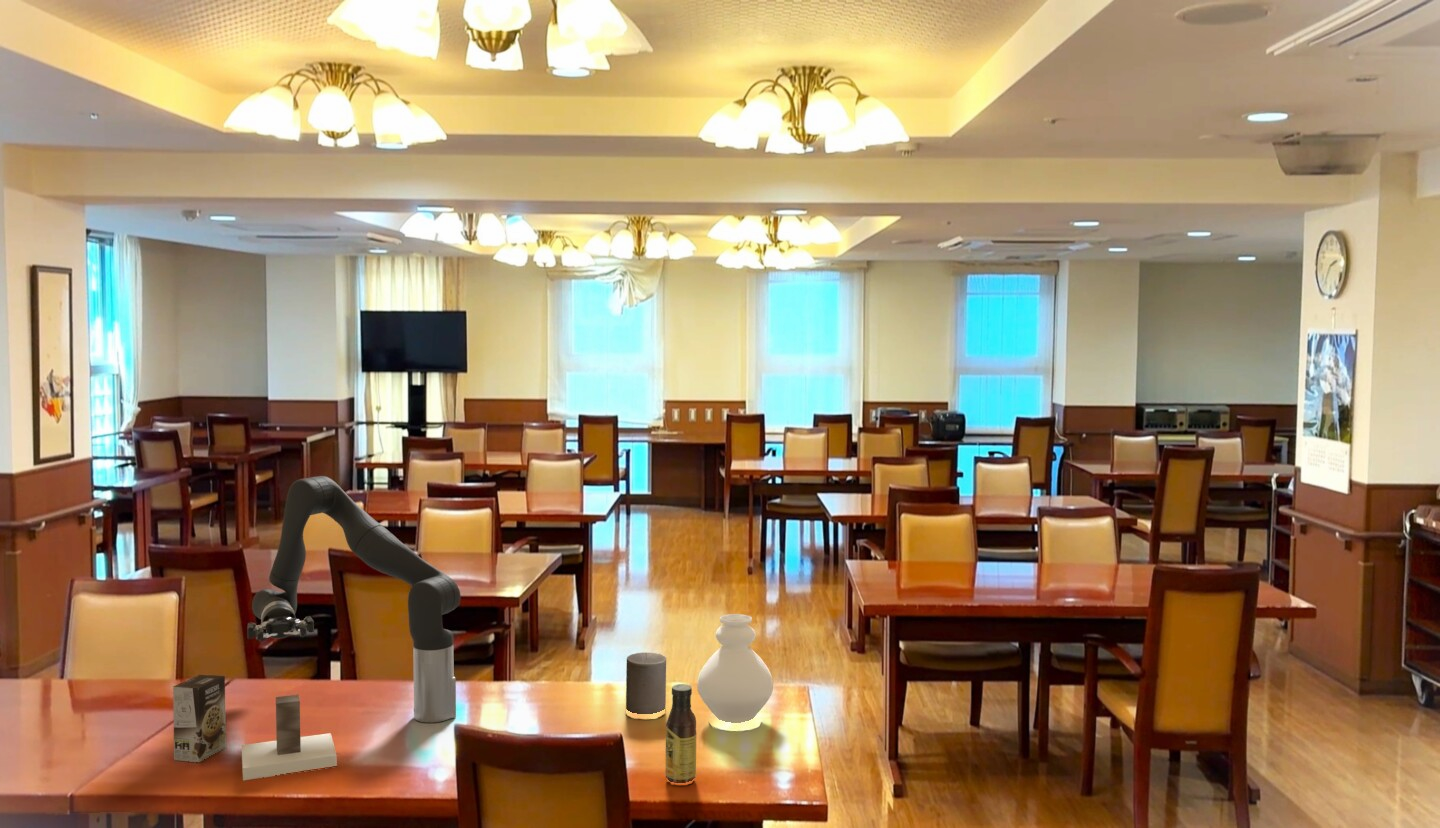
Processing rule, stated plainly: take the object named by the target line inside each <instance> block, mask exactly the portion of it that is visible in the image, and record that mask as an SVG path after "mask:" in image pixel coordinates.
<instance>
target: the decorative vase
mask: <svg viewBox="0 0 1440 828" xmlns="http://www.w3.org/2000/svg"><path fill="white" fill-rule="evenodd" d="M752 619H753V617H752V616H751V615H747V614H741V613H729V614H724V615H723V614H722V615H721V616H719V622H720V623H721V624H722V625H720V626H719V627H718V628H717V630H716V632H715V638H716V640H717V642H718V643H719V644H720V645H721V646H720V647H719V648H718V649H717V650H716V651H715V652H714V653H713V654H712V655H711V656H710V657H709V658H708V659H707V661H706V662H705V663H704V665H703V667H702V668H701V670H700V672H699V674H698V677H697V678H698V679H697V684H696V685H697V692H698V695H699V696H700V698H701V700H702V701H703V703H704V704H705V705H706V707H707V708H708V709H709V710H710V711H711V713H712V715H715V716H716V717H717V718H718V719H719V720H722V721H725V722H731V723H741V722H745V721H749V720H751V719H753V718H754V717H755V716H756V715H758V713H759V712H760V711H761V710H762V709H763V707H765V705H766V704H767V702H768V701H769V699H770V698H771V696H772V694H773V691H774V679H773V676H772V673H771V671H770V670H769V668H768V666H767V665H766V663H765V662H764V660H763V659H762V658H761V657H760V656H759V655H758V654H757V653H756V652H755V651H754V649H752V648H751V647H750V645H752V643H753V642H755V639H756V638H757V634H756V631H755V629H754V628H753V627H752V626H750V624H751V623H752V622H753V620H752Z"/></svg>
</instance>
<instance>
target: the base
mask: <svg viewBox="0 0 1440 828" xmlns="http://www.w3.org/2000/svg"><path fill="white" fill-rule="evenodd" d="M300 744H301V752H298V753H290V754H283V755H277V739H276V740H269V741H260V742H253V743H248V744H241V765H242V766H241V767H242V781H249V780H256V779H262V778H263V777H264V778H270V777H276V776H275V775H277V776H281V775H280V774H284V775H287V774H286V773H291V772H298V771H303V770H310V769H317V768H324V767H332V766H337V767H338V762H337V761H338V760H337V759H338V758H337V757H338V755H337V751H336V748H335V745H334V739H333V737H332V733H331V732H329V733H322V734H314V735H307V736H306V735H305V736H300ZM332 768H333V767H332ZM298 773H299V772H298ZM291 774H292V773H291Z"/></svg>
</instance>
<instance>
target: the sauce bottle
mask: <svg viewBox="0 0 1440 828" xmlns="http://www.w3.org/2000/svg"><path fill="white" fill-rule="evenodd" d="M692 691H693V690H692V686H691V685H689V684H687V683H686V684H685V683H678V684H675V685H673V686H672V687H671V695H672V704H671V709H670V712H669V714H668V717H667V720H666V723H665V779H666V778H667V779H668V780H669V781H670V782H674V783H686V782H689V781H692V780H693V779H694V778H695V779H696V775H697V718H696V715H695V713H694V712H693V710H692V703H691V700H692V699H691V698H692V693H693V692H692Z"/></svg>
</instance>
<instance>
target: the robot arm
mask: <svg viewBox="0 0 1440 828" xmlns="http://www.w3.org/2000/svg"><path fill="white" fill-rule="evenodd" d="M318 514H324V515H326V516H328V517H329V518H331V519H333V520H334V522H335V523H337V524H338V525H339V526H340V527H341V529H342V530H343V533H344V536H345V540H346V543H347V546H348V547H349V549H350V550H351V552H352V553H353V554H354V555H355V556H356V557H357V558H359V559H360V560H361V561H362V562H363V563H364V564H365V565H367V566H368V567H370V568H372V569H373V570H376V571H378V572H379V573H382V574H385V575H388V576H389V577H393V578H396V579H398V580H401V581H403V582H405V583H407V584H408V585H410V586H411V588H410V590H409V591H408V592H409V593H408V597H407V598H408V599H407V610H408V611H407V613H408V623H409V624H408V626H409V627H408V628H409V634H410V636H411V639H412V645H413V646H412V647H413V648H412V649H413V652H412V653H413V658H412V659H413V662H412V663H413V718H414V720H416V721H417V722H420V723H421V722H422V723H439V722H444V721H447V720H450V719H454V718H456V717H457V689H456V688H457V686H456V684H457V683H456V682H457V681H456V680H457V679H456V676H455V674H454V669H455V667H454V665H455V664H454V661H455V660H454V633H453V632H452V631H451V630H449V629H446V628H444V625H443V615H446V614H449V613H451V612H452V611H454V610H455V609H457V608H458V606H459V605H460V602H461V597H462V596H461V591H460V588H459V586H458V585H457V583H456V582H455V581H454V579H452V578H451V577H450V576H449V575H447V574H446V573H444V572H443V571H441V570H440V569H438V568H437V567H435V566H433V565H432V564H431V563H429V562H427V561H426V560H425V559H423V558H422V557H420V556H419V555H418V554H417V553H415V551H413V550H412V549H411V548H409V547H408V546H407V545H406V544H405V543H403V542H402V541H401V540H399V538H397V537H396V536H395V535H394V534H393V533H392V532H391V531H389V530H388V529H387V528H386V527H384V525H382V524H381V523H379V522H378V521H377V520H375V518H374V517H372V516H371V515H369V513H367V512H366V511H365V509H363V508H361V507H360V506H359V505H358V504H357V503H356V502H355V501H354V500H353V499H352V498H351V497H350V496H349V495H348V494H347V493H346V492H345V491H344V489H342V488H341V486H340V485H339V484H337V482H335V481H334V480H333V479H332V478H330V477H328V476H326V475H319V476H318V475H317V476H310V477H304V478H300V479H297V480H295V481H293V482H292V484H291V485H290V487H289V489H288V492H287V495H286V501H285V507H284V513H283V520H282V527H281V532H280V533H281V535H280V539H279V544H278V548H277V552H276V556H275V558H274V561H273V563H272V567H271V570H270V572H269V577H268V578H269V579H268V580H269V582H270V583H271V584H272V585H273V586H274V587H275V588H278V589H280V590H282V591H280V590H274V589H269V588H264V589H260V590H259V591H257V592H256V594H255V595H254V596H253V599H252V602H251V603H252V604H251V608H252V613H253V615H254V616H255V617H257V618H258V619H259V620H261V621H260V624H258V625H257V624H256V623H254V621H253V622H252V621H250V622H248V623H247V627H246V629H247V631H246V632H247V634H246V635H247V639H248V640H252V639H254V638H255V639H256V640H257V641H260V642H264V638H265V639H267V638H272V639H279V640H280V639H285V638H287V637H289V636H290V635H295V636H296V635H299V636H300V638H305V636H306V635H308V633H314V632H315V629H314V628H315V624H314V623H315V621H314V619H313V618H312V616H310V615H308V616H305V618H303V620H302V619H301V620H300V619H299V618H297V617H296V612H297V608H298V586H299V581H300V578H301V574H302V571H303V569H304V566H305V562H306V558H307V557H306V556H307V551H306V545H305V541H304V531H305V528H306V524H307V522H308V520H309V519H310V518H311V516H313V515H318Z"/></svg>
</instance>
